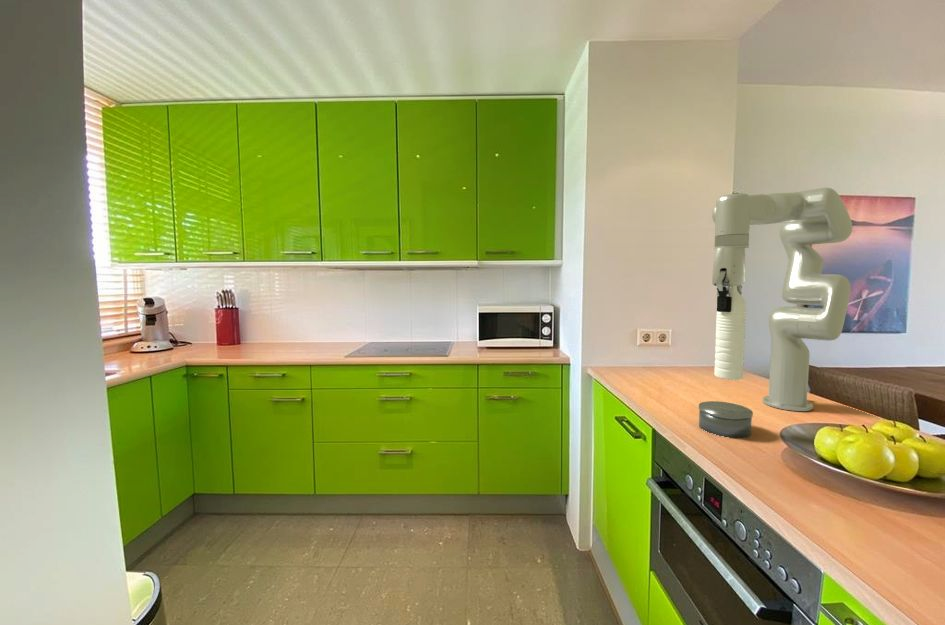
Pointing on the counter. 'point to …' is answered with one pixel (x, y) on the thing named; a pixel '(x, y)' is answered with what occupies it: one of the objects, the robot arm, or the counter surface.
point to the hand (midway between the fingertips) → (728, 310)
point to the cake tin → (725, 419)
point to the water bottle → (730, 339)
